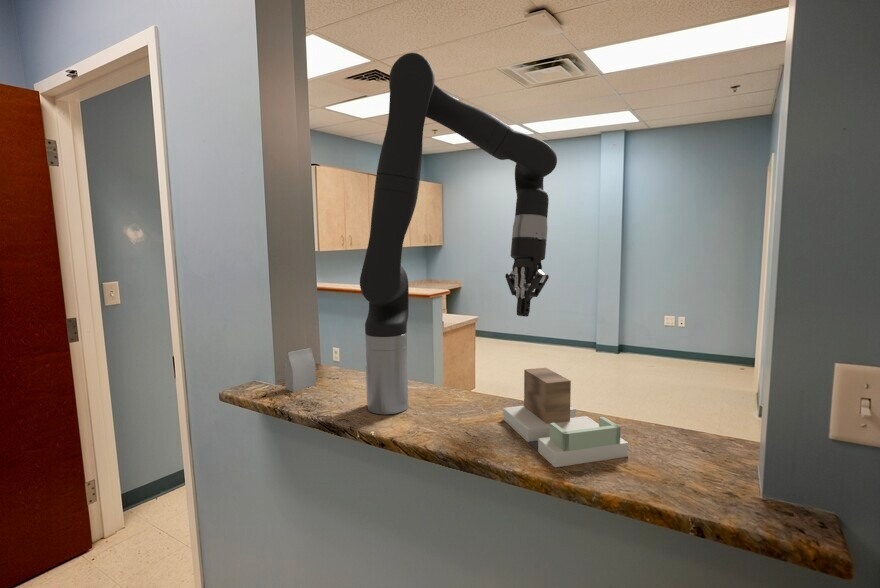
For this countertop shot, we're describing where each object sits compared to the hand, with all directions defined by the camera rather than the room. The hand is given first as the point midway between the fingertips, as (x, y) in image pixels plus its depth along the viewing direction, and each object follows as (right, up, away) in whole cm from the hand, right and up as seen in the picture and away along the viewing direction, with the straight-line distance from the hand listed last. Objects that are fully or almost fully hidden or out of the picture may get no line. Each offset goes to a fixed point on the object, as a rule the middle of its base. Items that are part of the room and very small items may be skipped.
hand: (522, 316), depth 103 cm
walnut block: (+3, -19, -8) cm, 21 cm away
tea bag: (-54, -20, +19) cm, 61 cm away
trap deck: (+5, -22, -13) cm, 26 cm away
